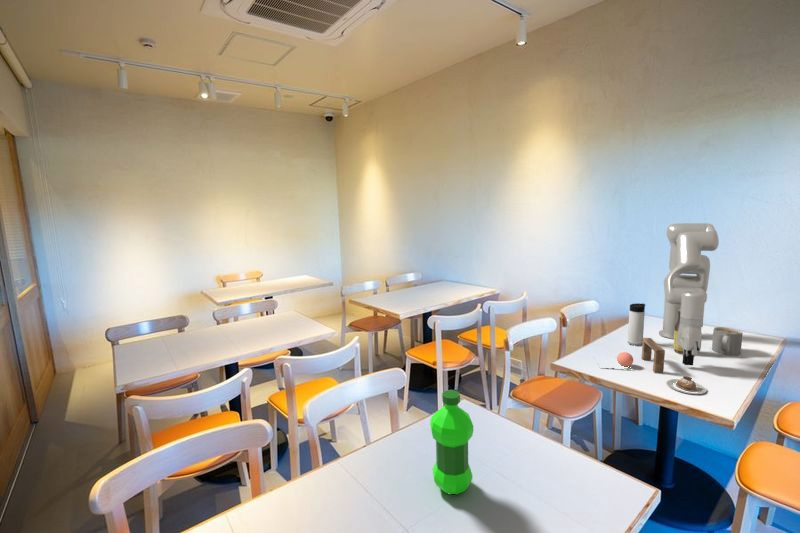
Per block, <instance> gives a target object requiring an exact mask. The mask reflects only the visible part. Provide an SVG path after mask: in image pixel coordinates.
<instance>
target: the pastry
mask: <svg viewBox="0 0 800 533" xmlns="http://www.w3.org/2000/svg"><path fill="white" fill-rule="evenodd" d="M676 382H677V383H676ZM673 383H674V384H675V386H676V387H678V388H679V389H678V388H676V387H674V386H673V385H674V384H673ZM666 385H667V386H668V387H669V388H672V390H675V391H677V392H681V393H684V394H685V393H686V394H690V395H691V394H692V395H703V394H705V393H706V392H707V391H708V390H707V388H706V387H705V386H703V385H702V384H699V383H697V382H695V380H693V378H692V377H690V376H687V375H684V376H682V377H681V378H680V379H678V378H673V379H669V380H666ZM680 389H681V390H680ZM698 390H699V391H698ZM687 391H688V392H687ZM697 391H698V392H697Z"/></svg>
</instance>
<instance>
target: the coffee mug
mask: <svg viewBox="0 0 800 533" xmlns="http://www.w3.org/2000/svg"><path fill="white" fill-rule="evenodd" d="M743 335H744V334H743V331H742V330H740V329H737V328H733V327H725V326H717V327H713V333H712V344H711V351H713V352H714V353H716V354H719V355H724V356H731V357H735V356H737V357H738V356H740V355H741V354H742V344H743V343H742V342H743Z"/></svg>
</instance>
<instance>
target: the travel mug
mask: <svg viewBox="0 0 800 533" xmlns="http://www.w3.org/2000/svg"><path fill="white" fill-rule="evenodd" d="M645 310H646V303H644V302H643V303H640V302H639V303H631V304H630V305H629V311H628V312H629V313H628V330H627V331H628V332H627V344H628V343H629V344H628V345H630V344H631V345H630V346H634V345H635V347H641V346H642V345H643V338H644V326H645V314H646V313H645V312H646V311H645Z"/></svg>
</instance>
